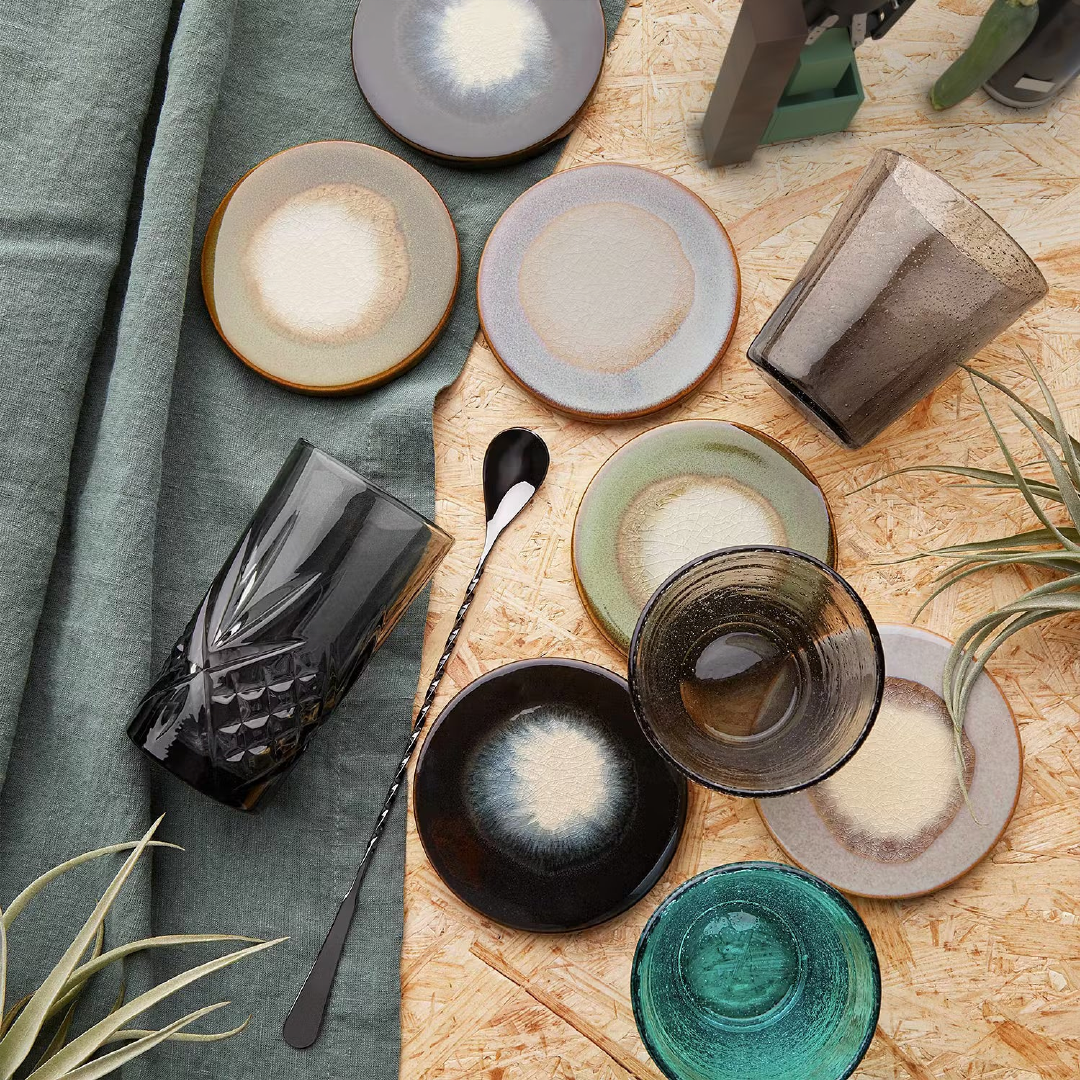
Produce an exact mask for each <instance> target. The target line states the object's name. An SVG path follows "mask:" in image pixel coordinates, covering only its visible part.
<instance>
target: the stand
mask: <svg viewBox="0 0 1080 1080" xmlns="http://www.w3.org/2000/svg"><path fill="white" fill-rule="evenodd" d="M808 36H809V31H808V27H807V23H806V18H805V14H804V10H803V6H802V1H801V0H742V4H741V7H740V10H739V12H738V16H737V18H736V21H735V23H734V28H733V30H732V33H731V36H730V40H729V42H728V45H727V48H726V51H725V54H724V57H723V61H722V63H721V66H720V69H719V72H718V74H717V78H716V81H715V84H714V86H713V89H712V93H711V96H710V98H709V101H708V105H707V108H706V111H705V114H704V117H703V120H702V122H701V125H700V128H699V129H700V134H701V139H702V144H703V149H704V153H705V157H706V162H707V167H708V169H709V170H710V169H715V168H716V169H717V168H721V167H726V166H727V167H728V166H733V165H739V164H744V163H749V162H752V159H753V157H754V155H755V153H756V151H757V148H758V146H759V142H760V140H761V138H762V136H763V133H764V131H765V129H766V127H767V125H768V123H769V120H770V118H771V116H772V114H773V112H774V110H775V108H776V105H777V103H778V101H779V99H780V97H781V95H782V92H783V90H784V88H785V86H786V84H787V82H788V79H789V77H790V75H791V73H792V71H793V69H794V67H795V64H796V62H797V60H798V58H799V56H800V54H801V51H802V49H803V47H804V45H805V43H806V41H807V38H808Z"/></svg>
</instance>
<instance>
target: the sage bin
mask: <svg viewBox="0 0 1080 1080" xmlns="http://www.w3.org/2000/svg"><path fill="white" fill-rule="evenodd" d="M853 55H854V56H853V58H852V60H851V62H850V64H849V65H848V67H847V69H846V71H845V72H844V74H843V76H842V78H841V80H840V81H839V83H838V85H837V87H836V88H832V89H826V90H820V91H814V92H808V93H803V94H797V95H791V96H787V95H786V91H785V88H784V90H783V92H782V95H781V97H780V99H779V101H778V103H777V105H776V108H775V110H774V112H773V114H772V116H771V118H770V120H769V123H768V125H767V127H766V129H765V131H764V133H763V136H762V138H761V140H760V142H759V144H758V146H759V145H767V144H772V143H778V142H783V141H784V142H785V141H789V140H795V139H801V138H807V137H812V136H818V135H824V134H830V133H836V132H842V131H846V130H847V128H848V127H849V125H850V124H851V122H852V120H853V119H854V117H855V116H856V114H857V112H858V111H859V109H860V107H862V105H863V103H864V101H865V99H866V96H865V92H864V88H863V83H862V80H861V79H862V78H861V76H860V71H859V67H858V63H857V58H856V55H855V52H854V53H853Z"/></svg>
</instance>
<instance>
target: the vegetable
mask: <svg viewBox="0 0 1080 1080" xmlns="http://www.w3.org/2000/svg"><path fill="white" fill-rule="evenodd" d="M1038 15H1039V8H1038V4H1037V0H994V1H992V3H991V4H990V6H989V8H988V9H987V11H986V12H985V14H984V16H983V18H982V19H981V22H980V24H979V27H978V29H977V31H976V33H975V35H974V39H973V41H971V43H970V45H969V46H968V48H967V49H966V50H965V51H964V52H963V53H962V54H961V55H960V56H959V57H958V58H956V59H955V60H954V61H953V62H952V63H951V65H950V66H949V67H948V68H947V69H946V70H945V71H944V72H943V73H942V74H941V76H940V77H938V79H937V80H936V82H935V84H934V86H932V87H931V88H930V89H929V90H930V91H929V93H930V97H931V104H932V105H934V109H935V110H940V109H941V110H942V109H943V108H945V109H946V108H951V107H954V106H956V105H958V104H960V103H962V102H963V101H965V100H967V99H968V98H969V97H971V96H972V95H973V94H975V93H976V92H978V90H979V89H980V88H982V87H983V86H982V85H983V84H984V83H985V82H986V81H987V80H988V79H989V78H990V77H991V76H992V75H993V74H994V73H995V72H996V71H997V70H998V69H999V68H1000V67H1001V66H1002V65H1003V64H1004V63H1005V62H1006V61H1007V60H1008V59H1009V58H1010V57H1011V56H1012V55H1013V54H1014V53H1015V52H1016V51H1017V50H1018V49H1019V48H1020V46H1021V45H1022V44H1023V43H1024V41H1025V40H1026V39H1027V37H1028V36H1029V35H1030V33H1031V31H1032V30H1033V28H1034V25H1035V23H1036V21H1037V18H1038Z"/></svg>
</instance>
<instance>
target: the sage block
mask: <svg viewBox="0 0 1080 1080" xmlns="http://www.w3.org/2000/svg"><path fill="white" fill-rule="evenodd" d="M853 56H854V55H853V51H852V47H851V43H850V38H849V34H848V30H847V27H844V28H832V29H828V30H825V31H824V32H823V33H822V34H821V35H820V36H819V37H818V38H817V39H816V40H815V41H814V42H813V44H812V45H810V46H808V45H805V46H804V47H803V49H802V51H801V54H800V56H799V58H798V60H797V62H796V64H795V67H794V69H793V71H792V73H791V75H790V77H789V79H788V82H787V84H786V86H785V91H786V95H787V96H791V95H797V94H803V93H808V92H814V91H820V90H826V89H832V88H836V87H837V85H838V83H839V81H840V80H841V78H842V76H843V74H844V72H845V71H846V69H847V67H848V65H849V64H850V62H851V60H852V58H853Z"/></svg>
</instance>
